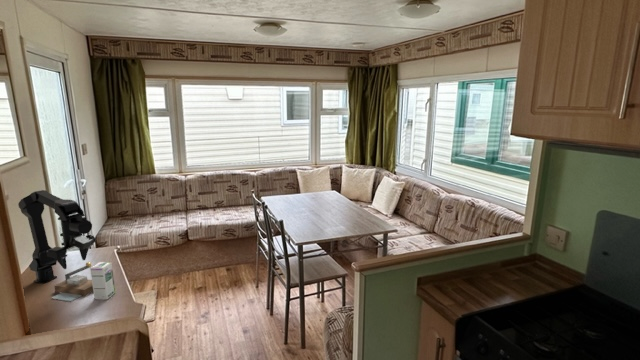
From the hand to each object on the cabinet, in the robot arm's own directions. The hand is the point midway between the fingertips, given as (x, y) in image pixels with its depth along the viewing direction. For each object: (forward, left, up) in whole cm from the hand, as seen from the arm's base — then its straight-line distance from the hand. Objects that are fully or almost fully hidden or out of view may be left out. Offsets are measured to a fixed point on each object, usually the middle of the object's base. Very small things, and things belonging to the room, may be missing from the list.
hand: (74, 264), depth 152 cm
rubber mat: (+1, -7, -12) cm, 14 cm away
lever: (-4, +5, -9) cm, 11 cm away
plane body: (0, 0, -12) cm, 12 cm away
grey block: (0, 0, -9) cm, 9 cm away
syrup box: (+16, -2, -12) cm, 20 cm away
